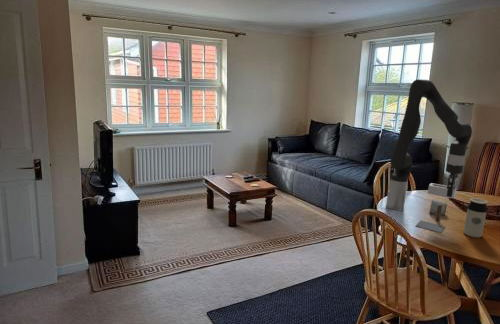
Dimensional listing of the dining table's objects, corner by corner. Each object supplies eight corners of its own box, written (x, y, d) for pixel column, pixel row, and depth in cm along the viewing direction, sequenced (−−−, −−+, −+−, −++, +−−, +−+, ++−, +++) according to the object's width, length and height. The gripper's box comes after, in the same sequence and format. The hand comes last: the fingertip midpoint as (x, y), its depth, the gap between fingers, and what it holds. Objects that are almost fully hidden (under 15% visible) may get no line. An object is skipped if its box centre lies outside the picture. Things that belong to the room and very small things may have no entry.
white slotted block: (427, 193, 189) (428, 185, 188) (429, 191, 194) (431, 183, 193) (453, 198, 183) (454, 190, 182) (455, 195, 187) (456, 187, 186)
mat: (415, 226, 189) (415, 225, 189) (420, 220, 197) (420, 220, 197) (440, 232, 182) (440, 232, 182) (444, 226, 189) (445, 226, 189)
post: (435, 220, 198) (437, 205, 196) (435, 219, 199) (438, 204, 197) (439, 221, 196) (441, 206, 194) (439, 220, 198) (442, 205, 196)
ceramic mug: (445, 217, 204) (447, 204, 202) (429, 214, 207) (431, 201, 206) (445, 211, 213) (447, 199, 211) (429, 208, 217) (431, 196, 215)
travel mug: (464, 229, 187) (470, 196, 182) (482, 234, 182) (489, 200, 178) (461, 234, 181) (468, 200, 176) (480, 239, 176) (487, 204, 172)
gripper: (449, 159, 190) (444, 190, 194) (444, 164, 178) (439, 196, 182) (465, 162, 185) (460, 193, 189) (461, 166, 174) (456, 200, 178)
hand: (450, 194), depth 186 cm, fingers closed on white slotted block, 5 cm apart
